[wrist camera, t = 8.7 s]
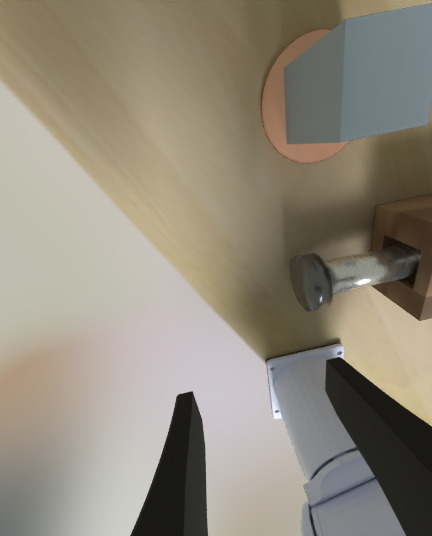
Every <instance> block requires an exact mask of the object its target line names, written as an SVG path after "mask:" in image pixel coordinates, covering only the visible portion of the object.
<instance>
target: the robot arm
mask: <svg viewBox="0 0 432 536" xmlns="http://www.w3.org/2000/svg"><path fill="white" fill-rule="evenodd" d="M343 358H344V346H343V345H342V344H334V345H330V346H326V347H321V348H317V349H313V350H308V351H304V352H300V353H295V354H291V355H287V356H282V357H278V358H274V359H270V360H268V361H267V363H266V365H267V374H268V382H269V391H270V399H271V407H272V415H273V418H274V419H280V418H283V421H284V423H285V426H286V429H287V431H288V434H289V437H290V439H291V442H292V445H293V447H294V450H295V453H296V455H297V458H298V461H299V464H300V466H301V469H302V471H303V473H304V476H305V477H306V479H307V481H308V483H306V484H304V485H303V487H304V490H305V493H306V495H307V498H308V501H307V502H305V503H304V504H303V507H302V517H301V531H302V536H432V426H430V425H429V424H427V423H426V422H424V421H423V420H422V419H420V418H419V417H417V416H416V415H414V414H413V413H412V412H410V411H409V410H407V409H406V408H405V407H403V406H402V405H400V404H399V403H398V402H396V401H395V400H394V399H392V398H391V397H390V396H388V395H387V394H386V393H385V392H383V391H382V390H381V389H379V388H378V387H377V386H375V385H374V384H373V383H372V382H370V381H369V380H368V379H367V378H365V377H364V376H363V375H362V374H360V373H359V372H358V371H357V370H356V369H354V368H353V367H352V366H351V365H349V364H348V363H347V362H346V361H345V360H343ZM130 536H208V528H207V504H206V463H205V441H204V432H203V424H202V418H201V415H200V412H199V409H198V406H197V404H196V401H195V397H194V394H193V392H187V393H183V394H179V395H178V396H177V398H176V403H175V408H174V412H173V416H172V421H171V424H170V428H169V432H168V435H167V438H166V442H165V445H164V448H163V452H162V455H161V458H160V461H159V464H158V467H157V469H156V472H155V475H154V478H153V481H152V484H151V487H150V489H149V492H148V494H147V497H146V500H145V502H144V505H143V507H142V509H141V512H140V515H139V517H138V519H137V522H136V524H135V526H134V529H133V531H132V533H131V535H130Z"/></svg>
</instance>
